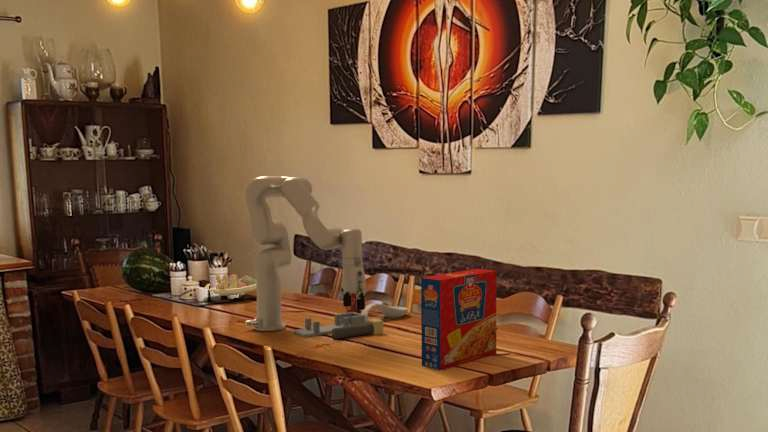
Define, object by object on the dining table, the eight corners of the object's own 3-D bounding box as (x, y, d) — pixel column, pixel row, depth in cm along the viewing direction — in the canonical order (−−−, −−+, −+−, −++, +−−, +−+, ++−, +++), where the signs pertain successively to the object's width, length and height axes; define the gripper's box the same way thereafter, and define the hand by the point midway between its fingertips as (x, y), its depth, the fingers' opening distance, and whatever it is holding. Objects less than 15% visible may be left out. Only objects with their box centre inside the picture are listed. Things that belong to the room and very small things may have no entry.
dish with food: (203, 305, 319) (202, 275, 319) (202, 295, 346) (202, 267, 346) (263, 302, 327) (263, 272, 326) (258, 292, 354) (258, 265, 353)
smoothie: (366, 312, 300) (366, 266, 299) (350, 314, 296) (349, 268, 295) (356, 309, 307) (355, 265, 306) (340, 311, 303) (339, 266, 301)
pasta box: (440, 370, 209) (440, 280, 207) (421, 365, 215) (421, 277, 213) (496, 353, 228) (496, 270, 227) (477, 349, 234) (477, 268, 232)
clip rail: (304, 337, 254) (303, 324, 254) (293, 332, 261) (293, 320, 261) (365, 328, 269) (365, 315, 268) (354, 324, 276) (353, 311, 276)
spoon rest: (394, 312, 300) (394, 296, 299) (413, 316, 291) (413, 300, 291) (353, 321, 283) (353, 303, 283) (372, 325, 275) (372, 307, 274)
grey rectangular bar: (337, 340, 249) (337, 327, 248) (331, 338, 253) (330, 325, 252) (383, 333, 260) (383, 320, 259) (376, 330, 264) (376, 318, 263)
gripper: (373, 263, 248) (375, 309, 249) (349, 259, 263) (351, 303, 263) (355, 265, 244) (357, 312, 245) (332, 261, 258) (334, 306, 259)
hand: (354, 307), depth 254 cm, fingers open, 9 cm apart
